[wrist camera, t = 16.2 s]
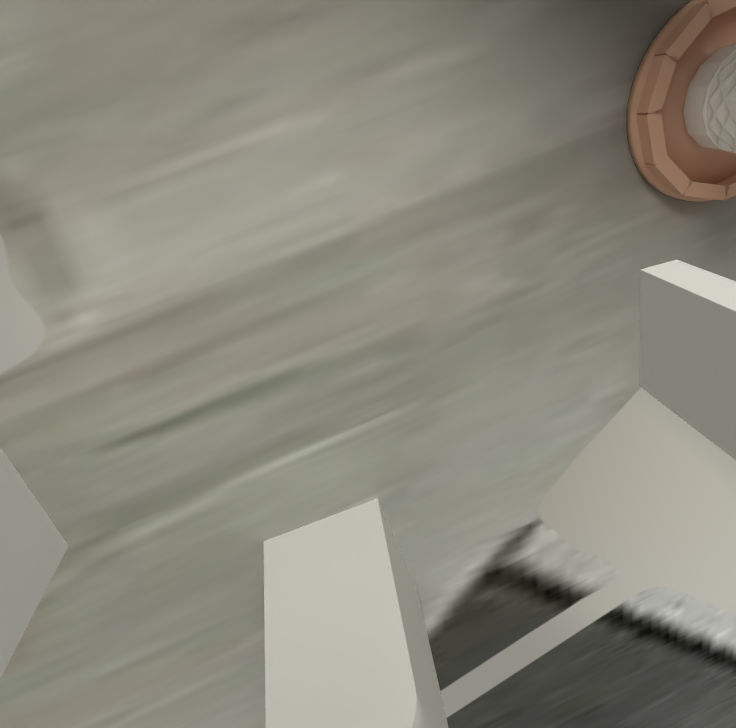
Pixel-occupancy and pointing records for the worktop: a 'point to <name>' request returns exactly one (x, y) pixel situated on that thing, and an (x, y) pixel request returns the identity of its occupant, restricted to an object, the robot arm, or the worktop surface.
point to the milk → (346, 629)
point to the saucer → (680, 105)
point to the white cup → (713, 102)
